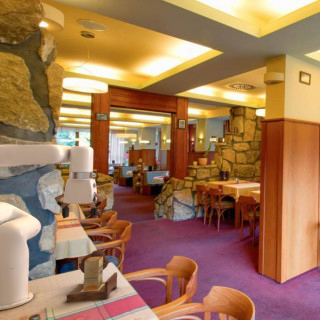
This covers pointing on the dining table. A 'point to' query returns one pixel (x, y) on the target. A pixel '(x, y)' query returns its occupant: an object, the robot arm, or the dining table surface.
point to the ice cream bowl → (94, 254)
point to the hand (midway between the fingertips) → (79, 217)
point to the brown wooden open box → (93, 291)
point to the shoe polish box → (93, 273)
